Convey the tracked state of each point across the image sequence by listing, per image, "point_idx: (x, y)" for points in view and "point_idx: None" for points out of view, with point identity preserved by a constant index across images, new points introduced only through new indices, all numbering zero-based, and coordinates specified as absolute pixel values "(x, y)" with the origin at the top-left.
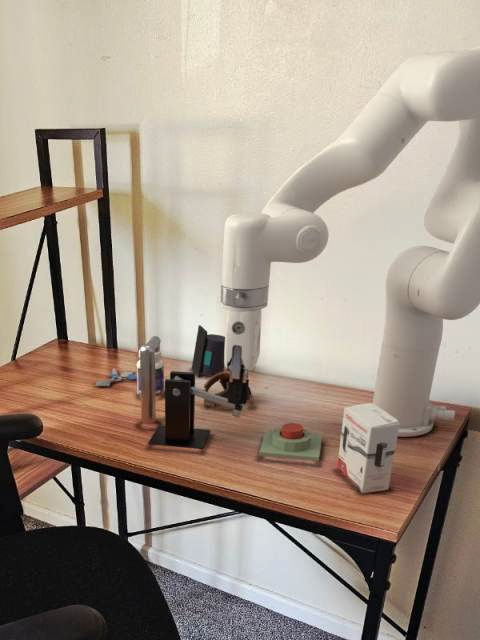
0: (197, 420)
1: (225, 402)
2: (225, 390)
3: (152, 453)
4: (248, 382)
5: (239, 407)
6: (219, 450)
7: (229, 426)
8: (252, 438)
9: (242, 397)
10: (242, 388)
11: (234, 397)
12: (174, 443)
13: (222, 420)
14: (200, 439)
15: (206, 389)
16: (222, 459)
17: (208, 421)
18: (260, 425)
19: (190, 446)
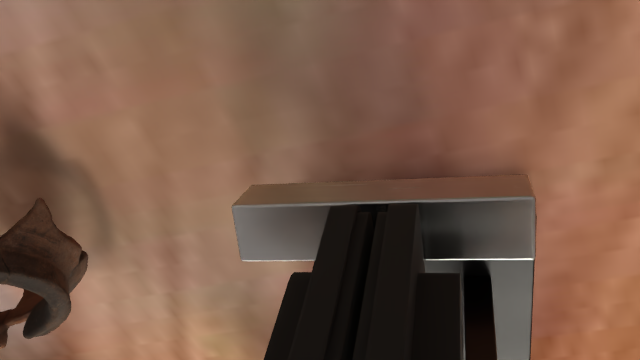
0: (191, 270)
1: None
2: (10, 280)
3: (563, 355)
4: (317, 356)
5: (461, 225)
6: (467, 131)
7: (178, 145)
8: (258, 4)
9: (416, 271)
10: (423, 358)
11: (462, 331)
12: (510, 321)
13: (135, 185)
14: None
15: (6, 326)
16: (578, 94)
17: (177, 233)
18: (80, 4)
19: (528, 264)
